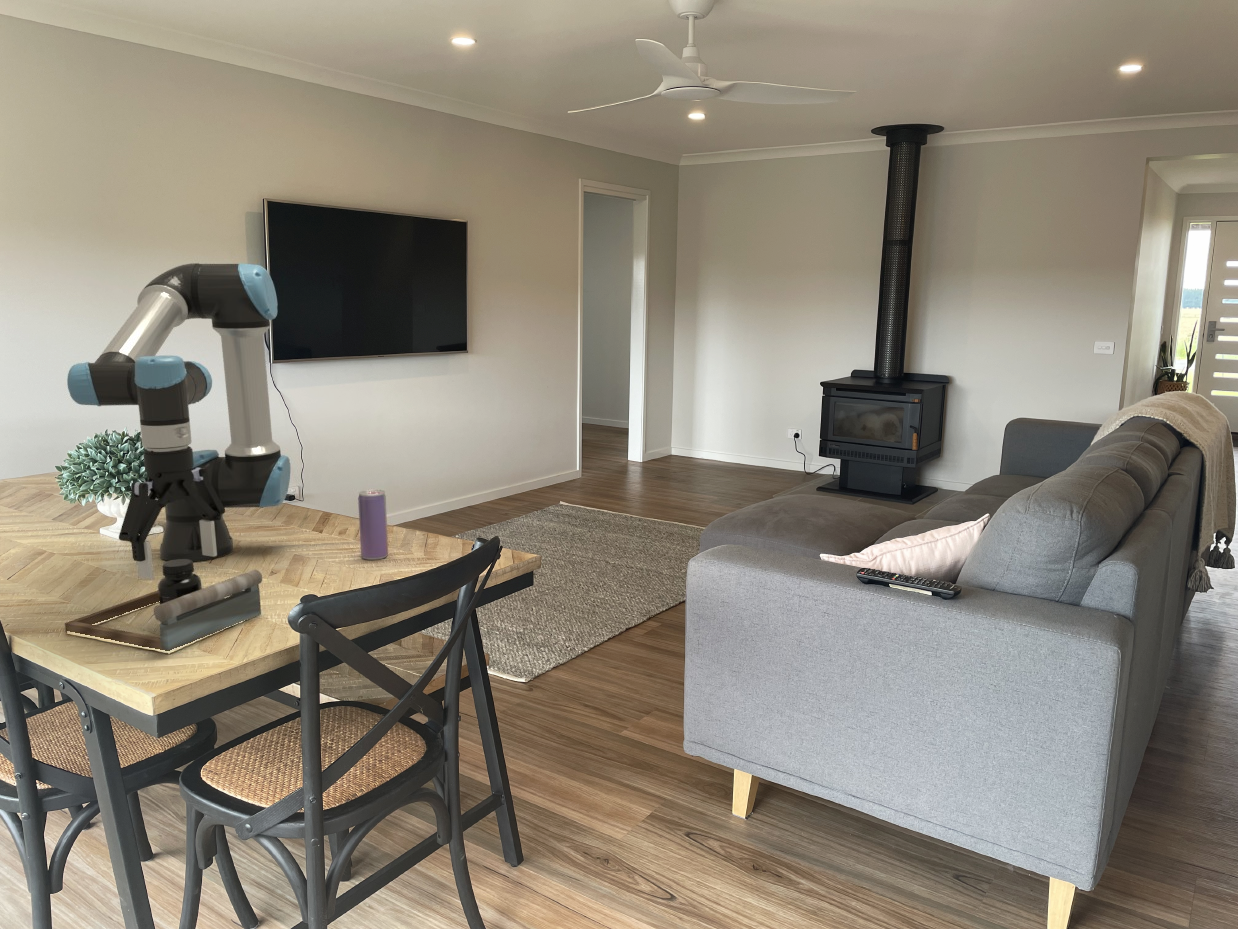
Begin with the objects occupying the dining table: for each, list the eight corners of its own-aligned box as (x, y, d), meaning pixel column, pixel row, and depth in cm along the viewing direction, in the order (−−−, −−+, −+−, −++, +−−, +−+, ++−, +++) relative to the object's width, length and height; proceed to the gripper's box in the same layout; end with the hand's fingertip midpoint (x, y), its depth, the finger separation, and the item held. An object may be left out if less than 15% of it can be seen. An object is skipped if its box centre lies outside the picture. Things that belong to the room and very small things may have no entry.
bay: (64, 634, 152) (59, 588, 150) (166, 597, 171) (162, 555, 170) (170, 655, 143) (165, 606, 142) (264, 614, 162) (261, 570, 161)
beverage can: (380, 561, 196) (377, 495, 193) (356, 559, 197) (352, 494, 194) (392, 554, 201) (390, 490, 199) (368, 552, 203) (365, 488, 200)
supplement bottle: (171, 621, 159) (166, 557, 156) (210, 620, 159) (205, 556, 157) (155, 635, 152) (149, 568, 150) (196, 634, 152) (190, 567, 150)
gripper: (119, 462, 137) (133, 591, 142) (240, 437, 160) (249, 549, 164) (84, 458, 140) (99, 585, 144) (208, 434, 163) (218, 544, 167)
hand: (179, 566), depth 154 cm, fingers open, 13 cm apart
